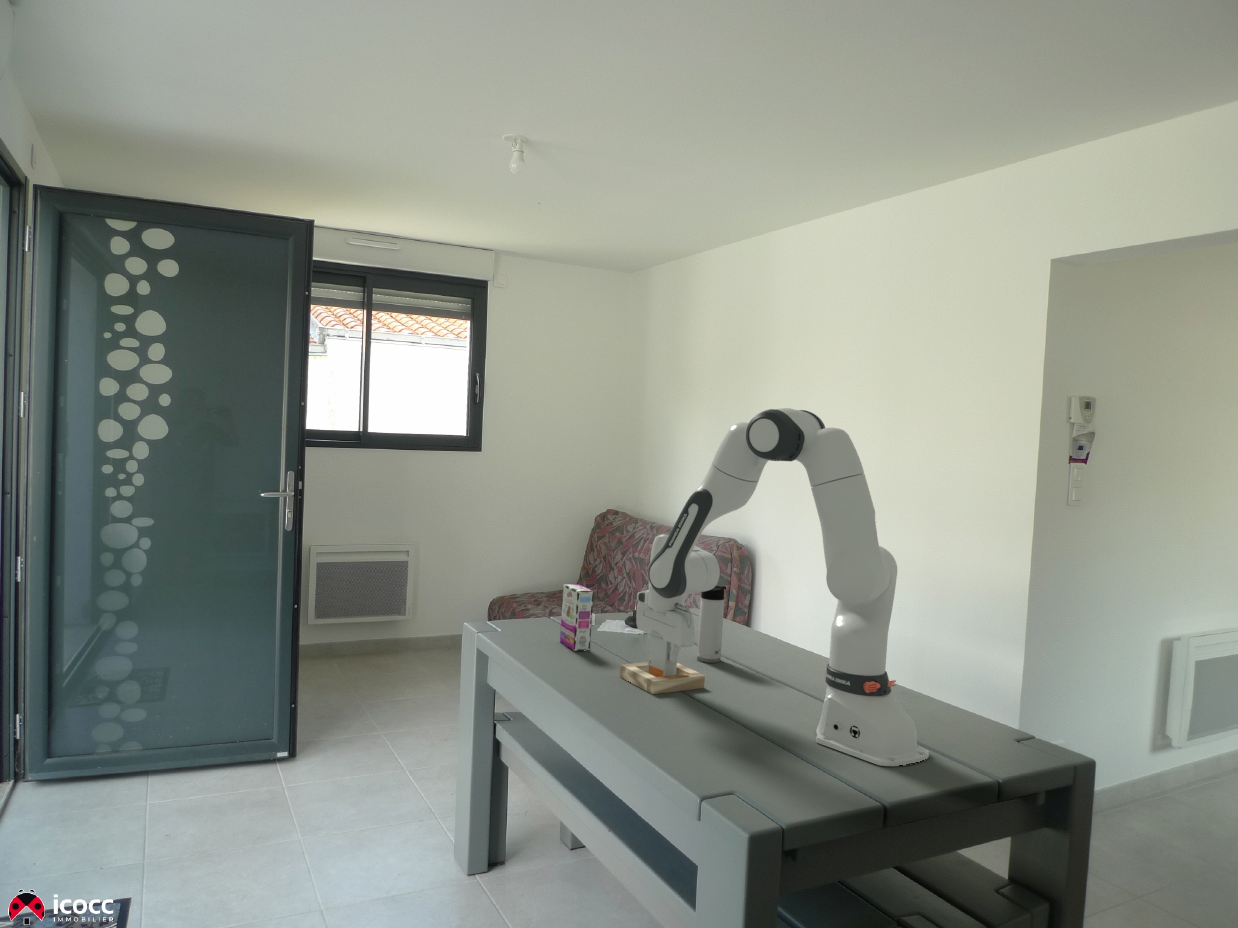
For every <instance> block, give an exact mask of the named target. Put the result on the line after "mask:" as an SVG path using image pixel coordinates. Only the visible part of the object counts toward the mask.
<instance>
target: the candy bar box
mask: <svg viewBox="0 0 1238 928" xmlns="http://www.w3.org/2000/svg"><path fill="white" fill-rule="evenodd" d="M562 587H563V588H562V604H561V621H560V633H559V636H560V637H559V643H561V644H562V643H563V644H562V645H563V646H565V645H566V646H565V647H567V648H568V647H569V648H568V649H570V650H571V649H572V650H571V651H573V652H589V650H590V651H591V636H592V624H593V623H592V620H593V619H592V618H593V610H594V609H593V606H594V594H595V593H594V592H595V591H594V590H592V589H590V588H588V587H586V586H583V585H581V584H578V583H574V584H573V583H571V584H570V583H568V584H563V585H562ZM584 650H586V651H584ZM587 650H588V651H587Z"/></svg>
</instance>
